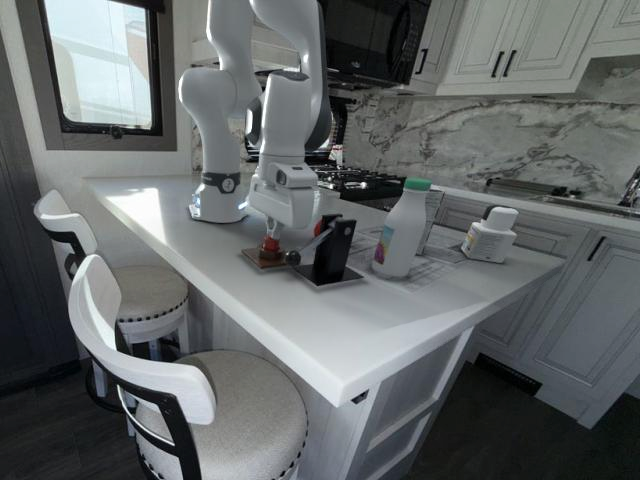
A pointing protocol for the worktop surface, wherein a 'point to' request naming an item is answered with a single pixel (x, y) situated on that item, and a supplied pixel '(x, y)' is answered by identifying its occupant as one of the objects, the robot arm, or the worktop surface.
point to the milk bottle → (402, 230)
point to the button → (271, 243)
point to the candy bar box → (430, 213)
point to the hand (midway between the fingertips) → (273, 237)
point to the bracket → (332, 254)
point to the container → (491, 235)
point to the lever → (309, 245)
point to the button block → (266, 256)
